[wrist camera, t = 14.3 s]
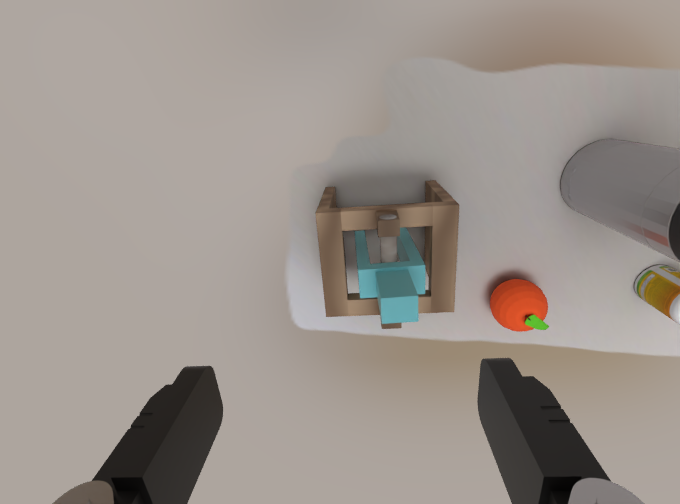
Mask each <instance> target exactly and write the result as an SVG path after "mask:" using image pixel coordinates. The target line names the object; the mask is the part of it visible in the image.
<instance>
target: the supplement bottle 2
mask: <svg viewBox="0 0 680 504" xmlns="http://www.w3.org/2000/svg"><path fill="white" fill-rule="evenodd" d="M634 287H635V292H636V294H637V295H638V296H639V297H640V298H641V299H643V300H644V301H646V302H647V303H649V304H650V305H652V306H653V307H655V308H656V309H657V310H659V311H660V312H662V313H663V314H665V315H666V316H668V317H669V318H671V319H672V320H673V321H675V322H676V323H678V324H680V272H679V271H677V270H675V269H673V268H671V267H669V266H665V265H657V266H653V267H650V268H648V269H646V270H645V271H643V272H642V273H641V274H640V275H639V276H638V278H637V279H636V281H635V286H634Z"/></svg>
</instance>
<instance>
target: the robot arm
mask: <svg viewBox="0 0 680 504" xmlns="http://www.w3.org/2000/svg"><path fill="white" fill-rule="evenodd" d="M561 192H562V196H563V198H564V200H565V202H566V203H567V204H568V205H569V207H571V208H572V209H574V210H575V211H577V212H579V213H581V214H583V215H585V216H587V217H589V218H591V219H593V220H595V221H597V222H599V223H601V224H603V225H605V226H607V227H609V228H611V229H613V230H615V231H617V232H619V233H621V234H623V235H625V236H627V237H630V238H632V239H634V240H636V241H638V242H640V243H642V244H644V245H646V246H648V247H650V248H652V249H654V250H656V251H658V252H660V253H662V254H664V255H666V256H668V257H670V258H672V259H674V260H676V261H678V262H680V149H677V148H670V147H663V146H656V145H649V144H642V143H636V142H629V141H622V140H614V139H606V140H600V141H596V142H594V143H591V144H589V145H587V146H585V147H584V148H582V149H581V150H580V151H578V152H577V153H576V154H575V155H574V156H573V157H572V158H571V160H570V161H569V162H568V164H567V165H566V168H565V170H564V172H563V175H562V178H561ZM478 411H479V416H480V420H481V423H482V426H483V429H484V431H485V434H486V436H487V439H488V442H489V444H490V447H491V449H492V452H493V455H494V457H495V460H496V463H497V465H498V468H499V471H500V473H501V476H502V478H503V481H504V484H505V486H506V488H507V492H508V494H509V497H510V499H511V502H512V504H644V503H643V502H642V501H641V500H640V499H639V498H638V497H636V496H635V495H634V494H633V493H631V492H630V491H628V490H626V489H625V488H623V487H622V486H620V485H618V484H615V483H613V482H611V480H610V479H609V478H608V476H607V475H606V473H605V472H604V470H603V469H602V467H601V466H600V464H599V463H598V462H597V460H596V458H595V457H594V455H593V454H592V452H591V451H590V449H589V448H588V446H587V445H586V443H585V442H584V440H583V439H582V437H581V436H580V434H579V433H578V431H577V430H576V428H575V427H574V425H573V424H572V423H570V419H569V418H568V416H567V415H566V413H565V412H564V410H563V409H561V406H560V404H559V403H558V401H557V400H556V398H555V397H554V395H553V394H552V392H551V391H550V389H548V388H547V387H546V386H544V385H543V384H542V383H541V382H540V381H538V380H537V379H536V378H535V377H533V376H529V377H522V375H521V374H520V372H519V370H518V368H517V367H516V365H515V364H514V362H513V360H511V359H510V358H494V359H482V361H481V366H480V378H479V390H478ZM222 417H223V404H222V400H221V396H220V392H219V389H218V384H217V380H216V377H215V373H214V370H213V368H212V367H211V366H190V367H185V368H183V369H182V371H181V372H180V374H179V375H178V376H177V378H176V380H175V381H174V383H173V384H172V385H165V386H164V387H163V388H162V389H161V390H159V391H158V392H157V393H156V394H155V395H154V396H152V397H151V398H150V399H149V401H148V402H147V404H146V405H145V406H144V408H143V409H142V411H141V412H140V416H137V418H136V419H135V420H134V422H133V423H132V425H131V428H130V429H128V430H127V432H126V433H125V435H124V436H123V437H122V439H121V440H120V442H119V443H118V445H117V446H116V447H115V449H114V450H113V452H112V453H111V455H110V456H109V457H108V459H107V460H106V462H105V463H104V464H103V466H102V467H101V469H100V470H99V471H98V473H97V474H96V476H95V477H94V478H93V480H92V481H90V482H86V483H83V484H81V485H78V486H76V487H74V488H73V489H71V490H69V491H68V492H66V493H65V494H63V495H62V496H61V497H60V498H58V499H57V500H56V501H55V502H54V503H53V504H187V503H188V500H189V498H190V496H191V493H192V491H193V489H194V486H195V484H196V482H197V479H198V477H199V475H200V472H201V470H202V468H203V465H204V463H205V461H206V458H207V456H208V454H209V451H210V449H211V447H212V444H213V442H214V440H215V437H216V435H217V433H218V430H219V428H220V426H221V422H222Z"/></svg>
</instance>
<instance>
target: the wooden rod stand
mask: <svg viewBox="0 0 680 504" xmlns="http://www.w3.org/2000/svg"><path fill="white" fill-rule="evenodd" d="M458 221H459V204H458V203H457V202H456V201H455V200H454V199H453V198H452V197H451V196H450V195H449V194H448V193H447V192H446V191H445V190H444V189H443V188H442V187H441V186H440V185H439V184H438V183H437V182H436V181H435V180H432V181H426V192H425V203H412V204H395V205H379V206H362V207H346V208H337V206H336V193H335V187H326V188H325V191H324V193H323V196H322V198H321V201H320V203H319V206H318V208H317V211H316V223H317V232H318V242H319V251H320V261H321V271H322V280H323V290H324V299H325V309H326V317H335V316H361V315H380V310H379V305H378V299H377V297H374V298H360V293H350V294H348V289H347V276H346V263H345V250H344V237H343V231H350V230H368V229H377V232H378V237H380V251H381V263H389V262H397V236H400V228H404V227H422V226H425V269H426V272H427V274H428V277H429V290H425V294H418V313H439V312H454V302H455V282H456V262H457V241H458ZM381 326H382V329H391V328H401V323H387V324H382V322H381Z"/></svg>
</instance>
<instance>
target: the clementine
mask: <svg viewBox="0 0 680 504" xmlns="http://www.w3.org/2000/svg"><path fill="white" fill-rule="evenodd" d="M490 308H491V311H492V314H493V316H494V318H495V319H496V320H497V321H498V322H499V323H500V324H501V325H502V326H503V327H505V328H508V329H510V330H513V331H528V330H532V329H534V328H535V329H540V330H546V329H547V328H548V327H549V326H548V325H547V324H545V323H544V322H543V320H544V319H545V317H546V314H547V310H548V303H547V299H546V297H545V295H544V294H543V292H542V290H541V289H540V288H539V287H538V286H536V285H535V284H533V283H532V282H529V281H527V280H521V279H511V280H508V281H505V282H503V283H501V284H500V285H499V286H498V287H496V288H495V290H494V291H493V293H492V296H491V299H490Z"/></svg>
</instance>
